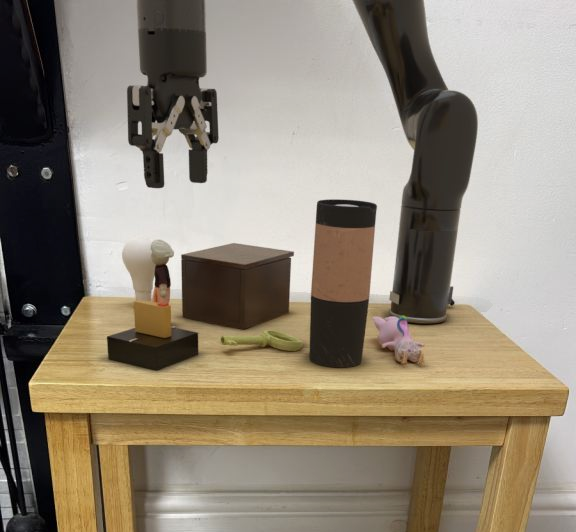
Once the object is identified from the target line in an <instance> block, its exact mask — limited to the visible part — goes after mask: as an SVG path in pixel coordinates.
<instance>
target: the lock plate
mask: <svg viewBox="0 0 576 532" xmlns="http://www.w3.org/2000/svg"><path fill="white" fill-rule="evenodd" d="M171 334H172V336H170V337H167V338H162V337H157V336H153V335H148V334H143V333H139V332H135V327H133V328H130V329H127V330H122V331H120V332H117V333H114V334H110V335H107V336H106V342H107V343H106V344H107V358H108V360H111V361H115V362H119V363H124V364H128V365H132V366H137V367H141V368H144V369H149V370H152V371H153V370H154V371H160V370H162V369H164V368H167V367H170V366H172V365H174V364H176V363H180V362H182V361H185V360H188V359H191V358H192V357H196V356H197V355H199V332H197V331H192V330H189V329H183V328H179V327H176V326H175V325H172V327H171Z"/></svg>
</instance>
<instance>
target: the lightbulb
mask: <svg viewBox="0 0 576 532" xmlns="http://www.w3.org/2000/svg"><path fill="white" fill-rule="evenodd" d="M153 241H154V240H153V239H151V238H150V237H148V236H144V235H137V236H133V237H132V238H130V239H128V240H127V242H126V243H125V244H124V246H123V248H122V252H121V257H122V262H123V264H124V266H125V269H126V271H127V272H128V273H129V276H130V277H131V282H132V288H133V291H134V298H135V301H137V300H145V301H150V302H152V296H153V290H154V281H155V275H154V272H155V266H156V264H155V263H154V262H153V261H152V259H151V253H152V251H151V244H152V242H153Z"/></svg>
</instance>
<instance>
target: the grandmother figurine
mask: <svg viewBox="0 0 576 532" xmlns="http://www.w3.org/2000/svg"><path fill="white" fill-rule="evenodd" d="M151 251H152V253H151V259H152V261H153V262H154V263H155V264H156V266H155V272H154V275H155V276H154V286H153V290H152V296H151V302H155V303H162V302H164V303H169V304H170V299H171V286H172V282H171V275H170V270H169V266H168V265H167V264H168V263H169V260H170V258H173V257H174V255H175V251H174V250H173V249H172V246H171V244H169V243H168V242H167V241H166V240H163V239H160V238H159V239H154V240H153V242H152V244H151ZM172 326H173V323H171V327H172Z"/></svg>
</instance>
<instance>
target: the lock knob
mask: <svg viewBox="0 0 576 532" xmlns="http://www.w3.org/2000/svg"><path fill="white" fill-rule="evenodd" d="M133 313H134V328H135V332H139V333H143V334H148V335H153V336H157V337H162V338H167V337H170V336H172V334H171V324H172V306H171V305H170V302H169V303H164V302H162V303H155V302H152V301H151V302H150V301H145V300H137V301H136V300H134V301H133Z"/></svg>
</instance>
